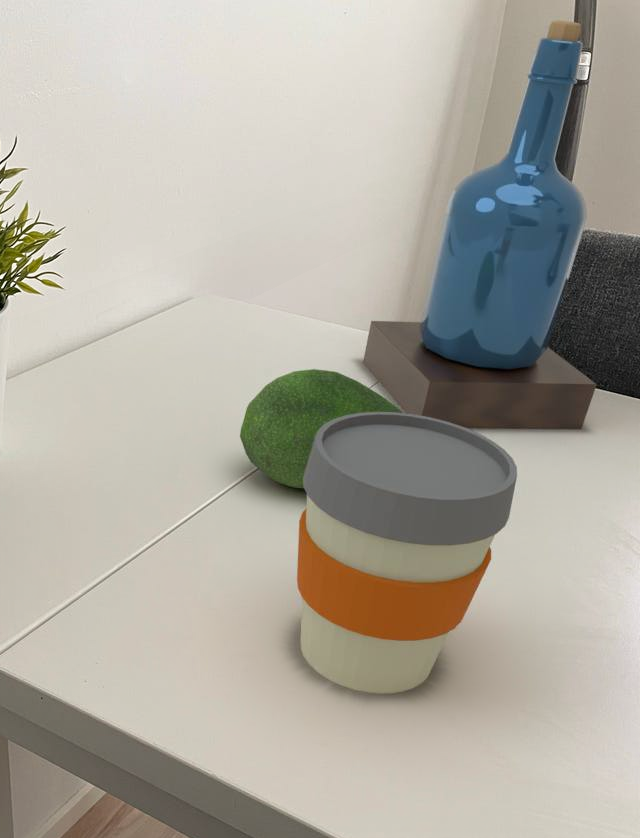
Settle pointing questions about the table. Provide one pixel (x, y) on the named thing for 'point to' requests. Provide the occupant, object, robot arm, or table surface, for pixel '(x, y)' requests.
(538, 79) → the wine bottle
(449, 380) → the walnut block
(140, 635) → the table surface
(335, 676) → the reusable coffee cup
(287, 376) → the fruit
